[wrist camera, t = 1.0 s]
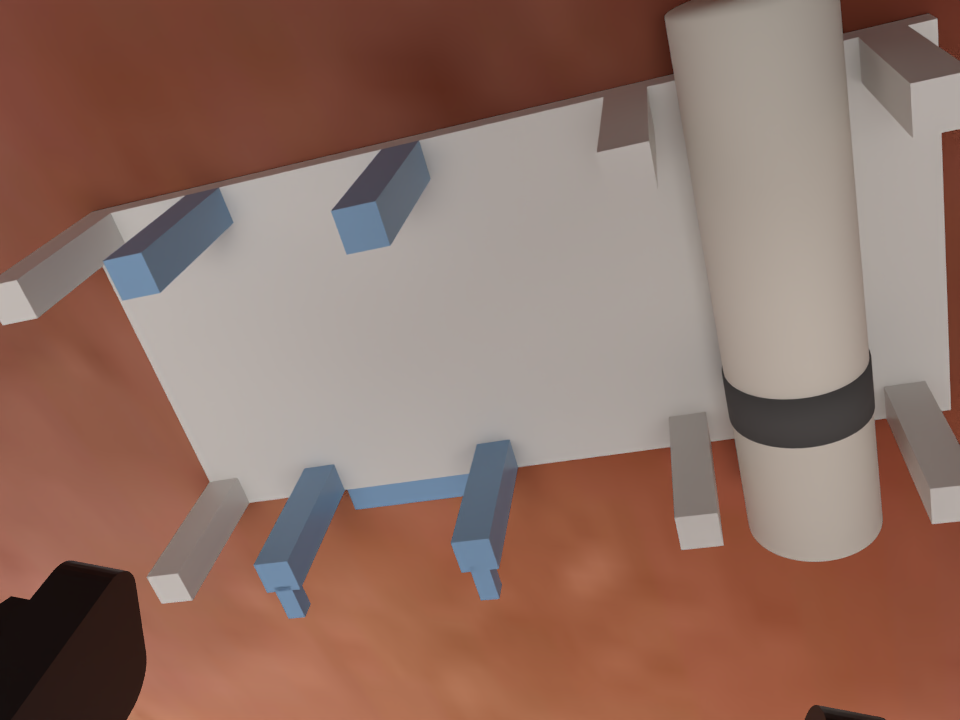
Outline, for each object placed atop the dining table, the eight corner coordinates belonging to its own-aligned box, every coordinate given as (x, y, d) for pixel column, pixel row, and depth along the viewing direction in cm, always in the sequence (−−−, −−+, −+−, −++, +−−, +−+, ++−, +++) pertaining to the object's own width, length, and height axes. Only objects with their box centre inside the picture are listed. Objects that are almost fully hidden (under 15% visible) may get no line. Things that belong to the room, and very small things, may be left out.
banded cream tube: (659, 5, 24) (665, 32, 20) (822, -37, 23) (858, -17, 19) (740, 487, 31) (755, 569, 27) (867, 471, 30) (899, 554, 26)
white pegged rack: (928, 13, 24) (1009, 61, 19) (944, 426, 30) (1009, 550, 24) (91, 211, 30) (-19, 287, 25) (241, 517, 36) (176, 629, 31)
